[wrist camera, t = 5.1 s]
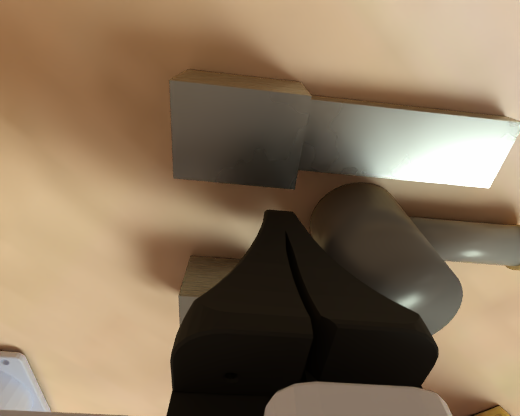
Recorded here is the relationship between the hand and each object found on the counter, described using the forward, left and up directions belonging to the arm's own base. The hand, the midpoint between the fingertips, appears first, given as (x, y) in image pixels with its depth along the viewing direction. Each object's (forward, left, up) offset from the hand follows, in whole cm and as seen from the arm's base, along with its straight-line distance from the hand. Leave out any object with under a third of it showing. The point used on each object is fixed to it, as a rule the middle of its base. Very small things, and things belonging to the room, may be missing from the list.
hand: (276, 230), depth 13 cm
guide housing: (+2, 0, -1) cm, 3 cm away
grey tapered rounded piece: (+6, 0, -1) cm, 7 cm away
